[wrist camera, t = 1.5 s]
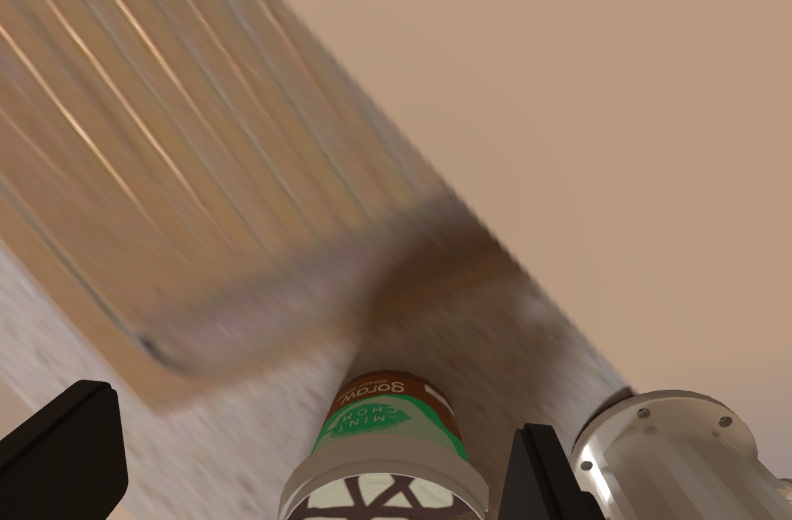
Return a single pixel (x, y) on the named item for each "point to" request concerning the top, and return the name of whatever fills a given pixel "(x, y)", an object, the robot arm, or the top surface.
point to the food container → (386, 457)
